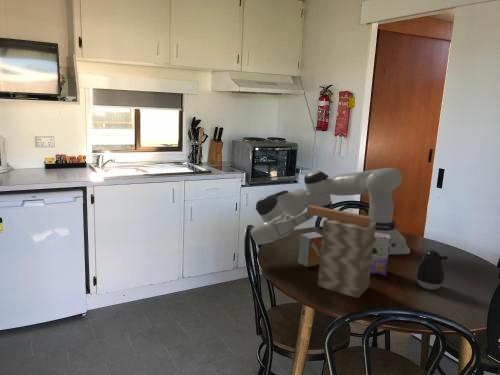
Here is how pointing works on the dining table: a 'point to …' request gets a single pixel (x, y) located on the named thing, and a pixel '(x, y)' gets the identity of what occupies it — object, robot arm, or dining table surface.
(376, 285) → the dining table surface
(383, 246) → the candy box
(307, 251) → the small box
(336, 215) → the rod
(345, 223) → the stand
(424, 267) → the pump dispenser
